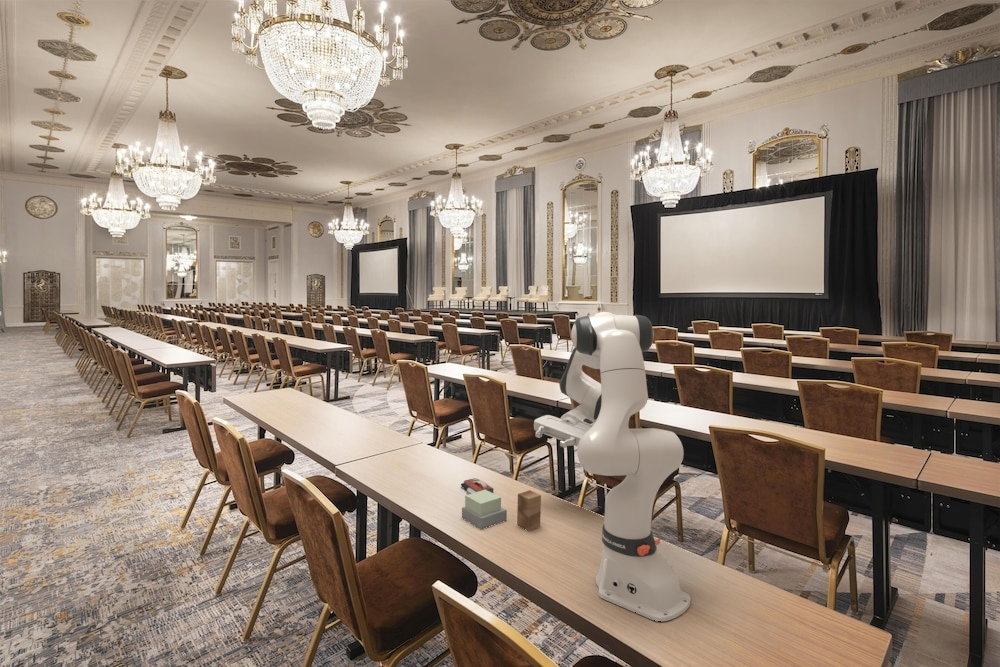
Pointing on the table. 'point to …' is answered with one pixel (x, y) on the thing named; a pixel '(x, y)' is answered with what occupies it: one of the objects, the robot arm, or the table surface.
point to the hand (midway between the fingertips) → (549, 440)
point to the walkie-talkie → (475, 486)
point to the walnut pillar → (529, 510)
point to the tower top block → (483, 502)
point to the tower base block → (484, 518)
